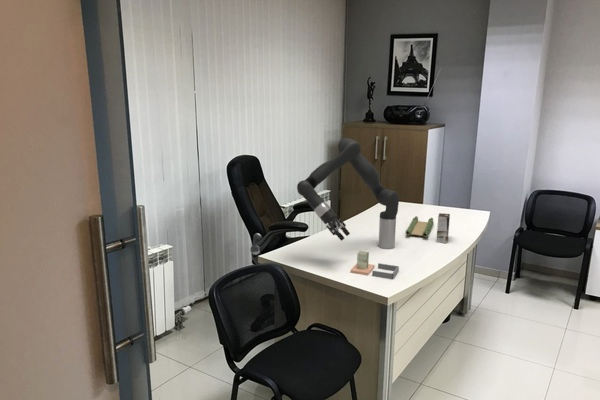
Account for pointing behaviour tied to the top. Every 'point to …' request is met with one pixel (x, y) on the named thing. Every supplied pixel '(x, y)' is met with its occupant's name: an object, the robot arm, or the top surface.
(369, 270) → the terracotta tile
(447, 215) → the coffee box
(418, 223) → the stretcher
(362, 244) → the top surface
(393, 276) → the charcoal channel
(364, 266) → the sage block
